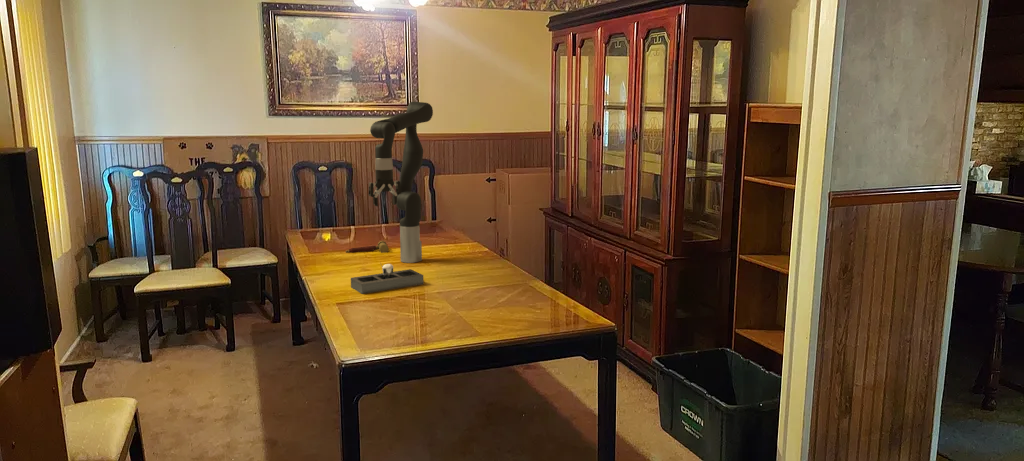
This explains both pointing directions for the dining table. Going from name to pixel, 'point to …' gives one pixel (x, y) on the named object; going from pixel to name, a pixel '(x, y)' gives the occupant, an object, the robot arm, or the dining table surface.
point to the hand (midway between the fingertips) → (385, 205)
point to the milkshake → (387, 271)
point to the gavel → (371, 248)
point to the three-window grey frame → (386, 281)
